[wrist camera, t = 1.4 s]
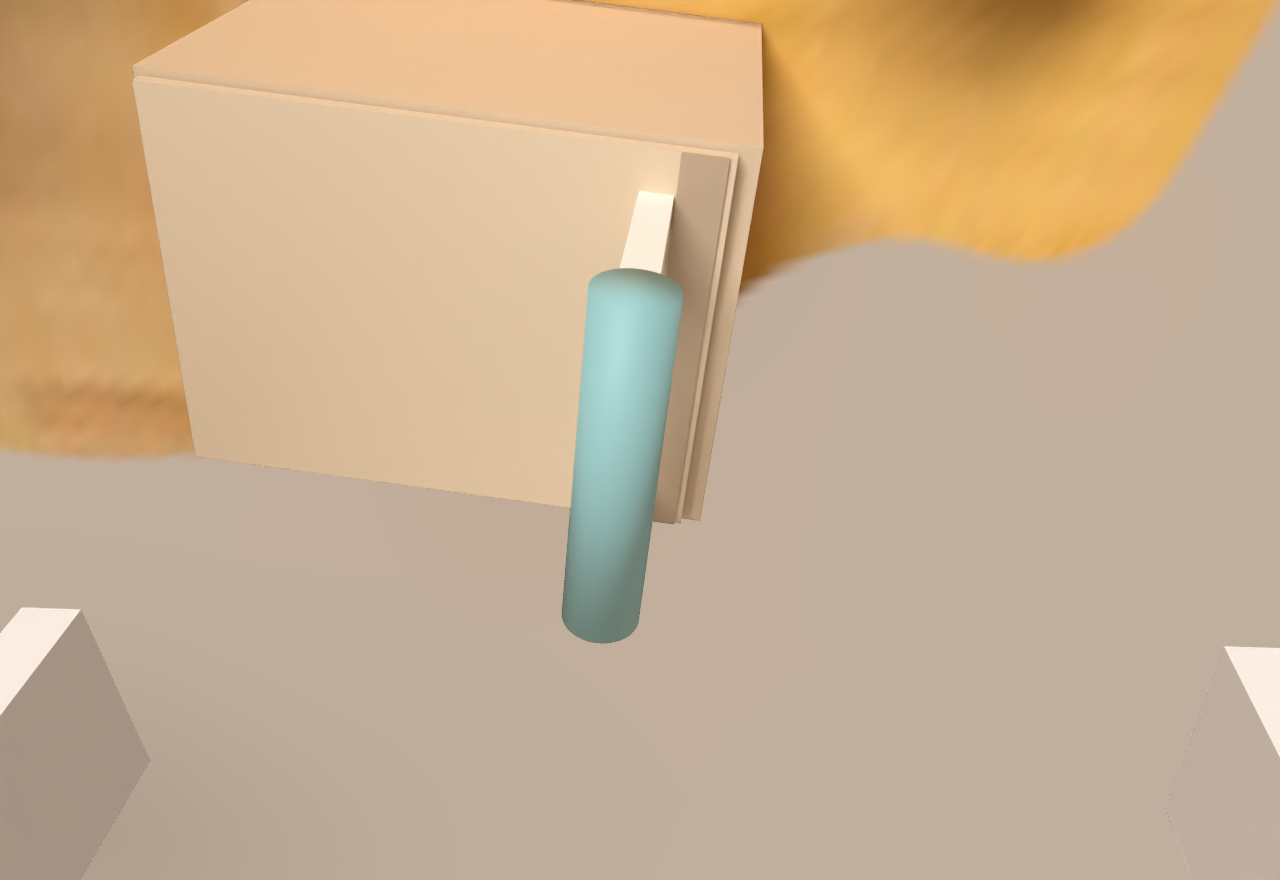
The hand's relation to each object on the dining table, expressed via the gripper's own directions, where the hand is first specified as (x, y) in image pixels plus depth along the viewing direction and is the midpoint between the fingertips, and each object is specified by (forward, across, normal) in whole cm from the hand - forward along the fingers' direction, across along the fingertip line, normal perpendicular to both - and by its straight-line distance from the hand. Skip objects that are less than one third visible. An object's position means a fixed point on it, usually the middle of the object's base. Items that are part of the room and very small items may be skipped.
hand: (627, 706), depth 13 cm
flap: (+17, -7, -4) cm, 19 cm away
